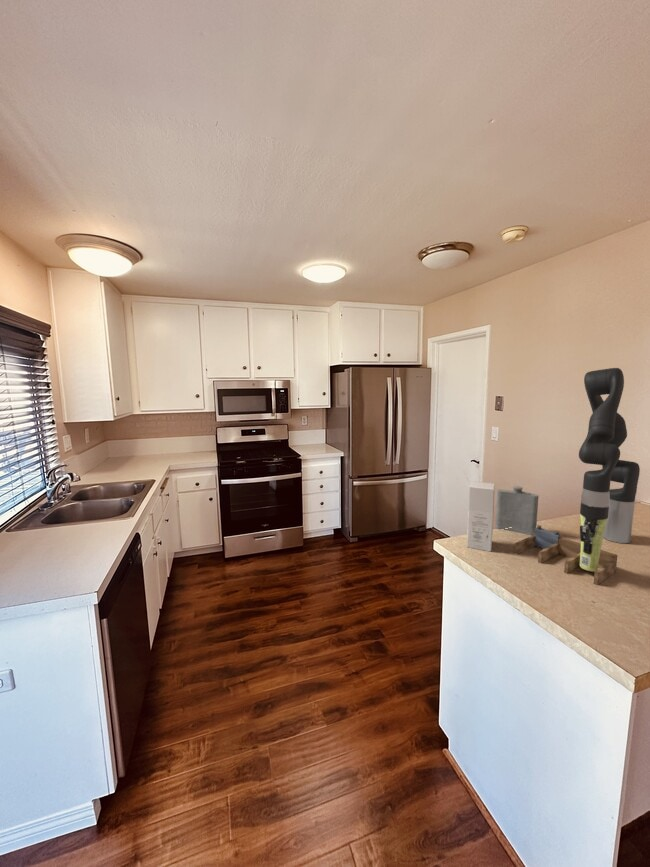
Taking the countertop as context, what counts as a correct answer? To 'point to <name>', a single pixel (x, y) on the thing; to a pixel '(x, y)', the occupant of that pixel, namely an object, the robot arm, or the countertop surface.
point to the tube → (592, 559)
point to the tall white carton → (480, 515)
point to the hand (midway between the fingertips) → (590, 550)
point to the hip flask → (516, 510)
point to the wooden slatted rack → (566, 552)
